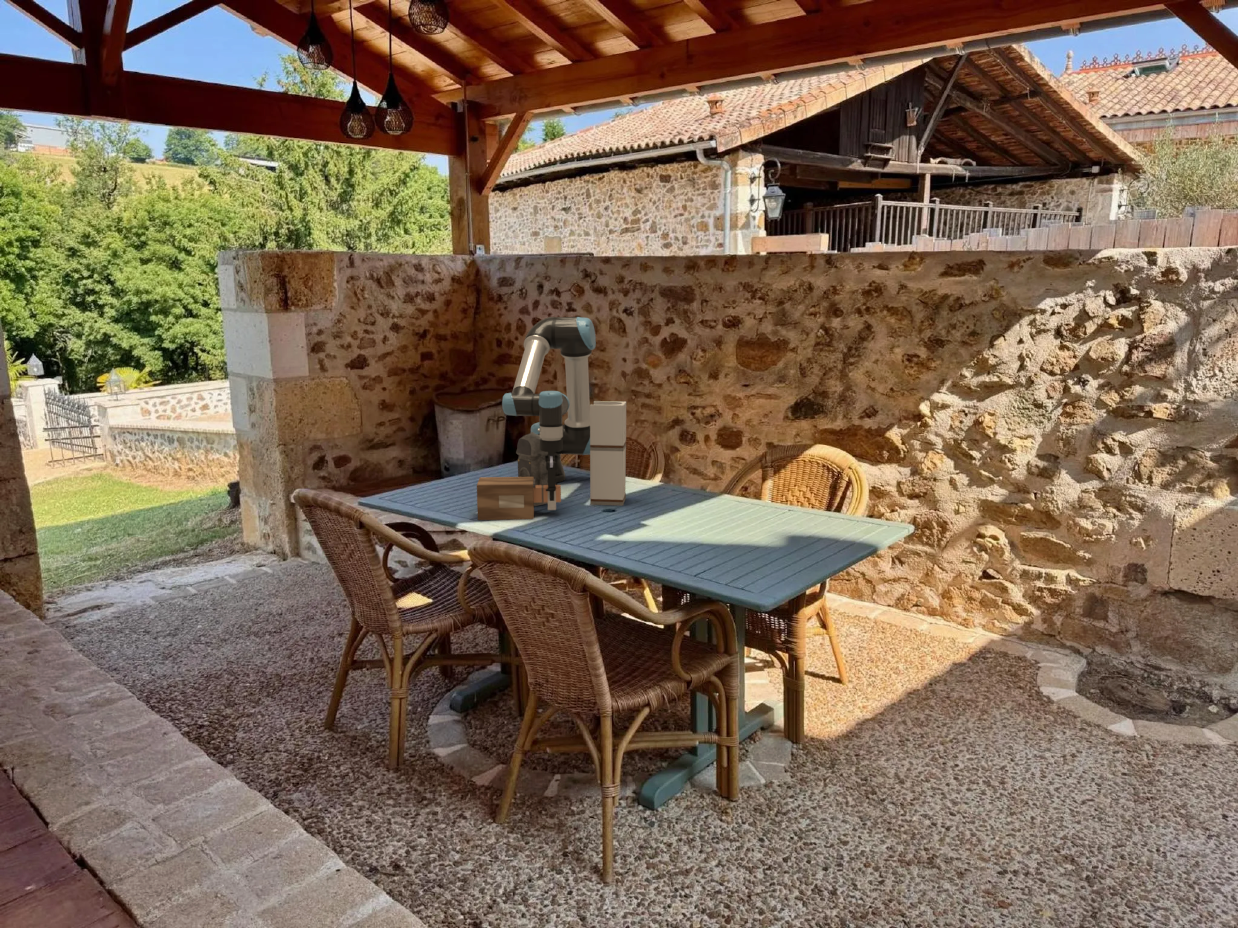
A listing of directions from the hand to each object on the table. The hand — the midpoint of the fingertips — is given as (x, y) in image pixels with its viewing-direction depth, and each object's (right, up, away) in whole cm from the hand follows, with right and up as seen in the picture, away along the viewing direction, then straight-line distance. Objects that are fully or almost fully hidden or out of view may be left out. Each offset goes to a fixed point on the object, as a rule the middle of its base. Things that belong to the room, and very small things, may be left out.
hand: (551, 507), depth 274 cm
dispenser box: (-15, -2, -1) cm, 15 cm away
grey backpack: (-7, +1, +17) cm, 18 cm away
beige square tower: (+19, +1, +18) cm, 26 cm away
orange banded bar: (-9, +2, -1) cm, 10 cm away
